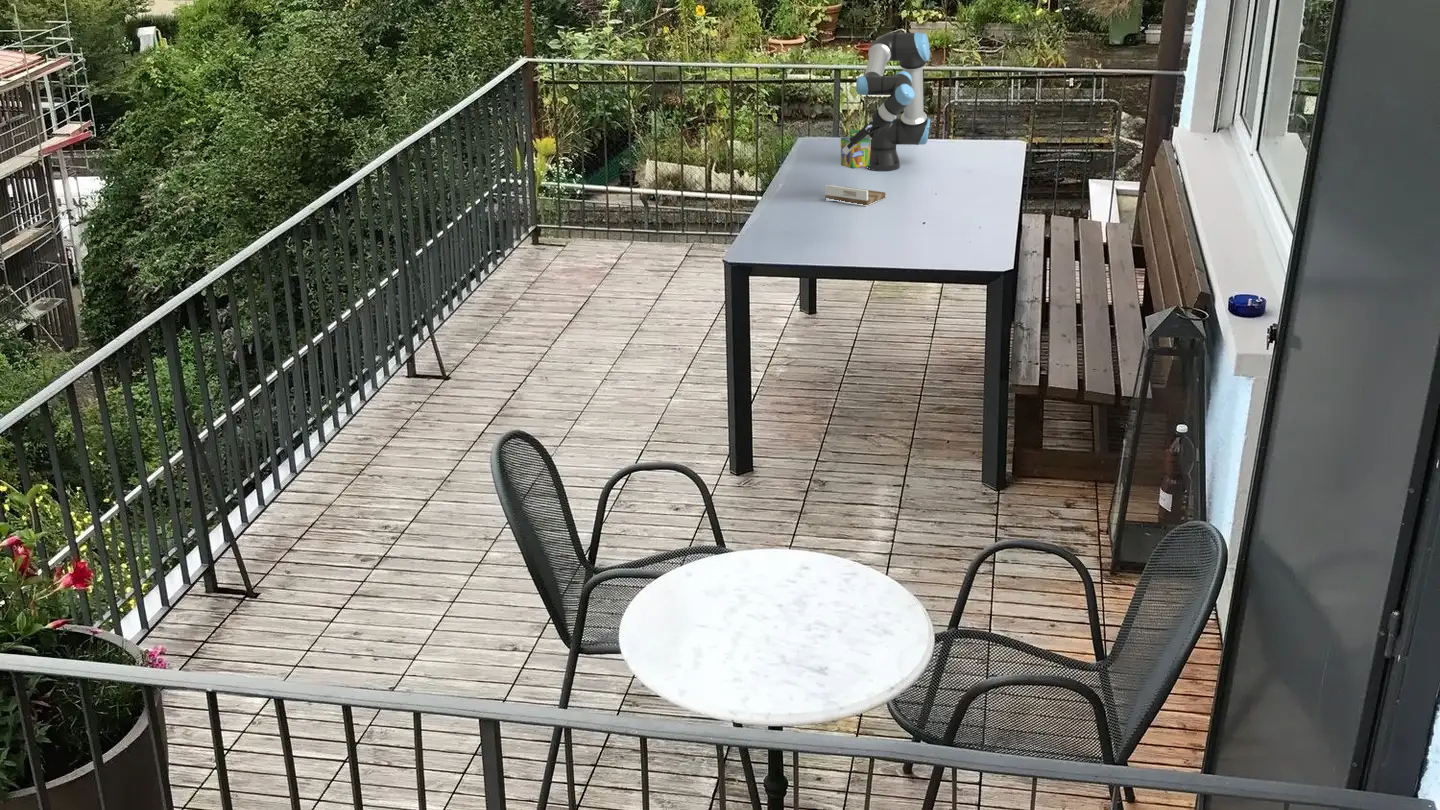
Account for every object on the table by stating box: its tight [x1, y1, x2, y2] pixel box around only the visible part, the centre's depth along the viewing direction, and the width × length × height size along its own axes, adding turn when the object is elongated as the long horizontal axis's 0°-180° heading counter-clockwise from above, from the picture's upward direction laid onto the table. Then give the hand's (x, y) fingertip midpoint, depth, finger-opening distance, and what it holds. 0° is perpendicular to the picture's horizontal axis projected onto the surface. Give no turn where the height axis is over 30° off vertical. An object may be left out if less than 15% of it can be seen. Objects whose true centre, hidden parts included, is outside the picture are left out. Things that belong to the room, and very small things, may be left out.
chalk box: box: [840, 128, 870, 170], centre depth 559 cm, size 9×9×15 cm
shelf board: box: [824, 184, 886, 206], centre depth 564 cm, size 15×20×6 cm
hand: (852, 149), depth 560 cm, fingers closed on chalk box, 11 cm apart
